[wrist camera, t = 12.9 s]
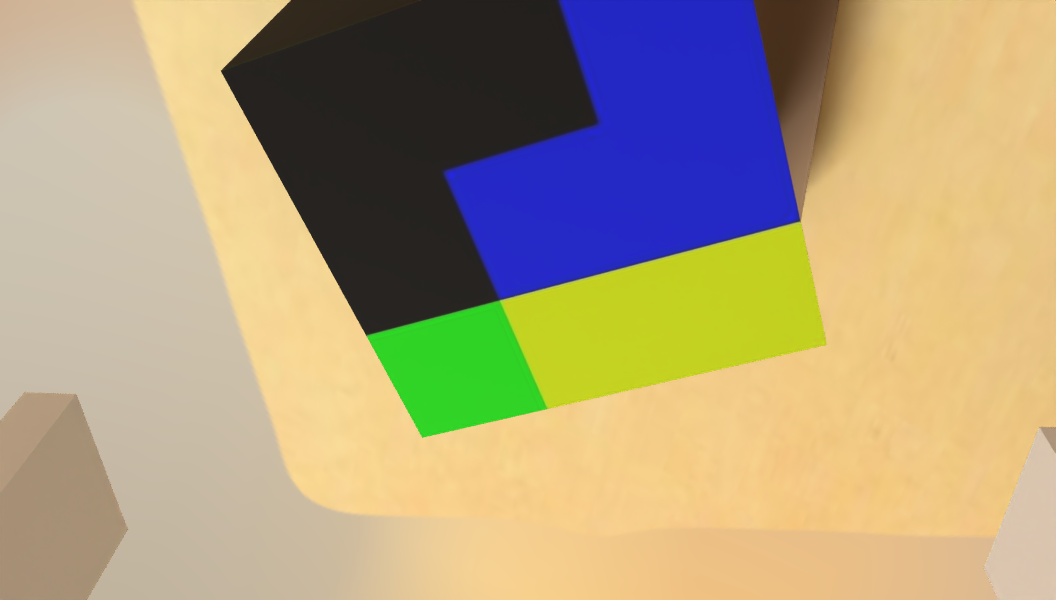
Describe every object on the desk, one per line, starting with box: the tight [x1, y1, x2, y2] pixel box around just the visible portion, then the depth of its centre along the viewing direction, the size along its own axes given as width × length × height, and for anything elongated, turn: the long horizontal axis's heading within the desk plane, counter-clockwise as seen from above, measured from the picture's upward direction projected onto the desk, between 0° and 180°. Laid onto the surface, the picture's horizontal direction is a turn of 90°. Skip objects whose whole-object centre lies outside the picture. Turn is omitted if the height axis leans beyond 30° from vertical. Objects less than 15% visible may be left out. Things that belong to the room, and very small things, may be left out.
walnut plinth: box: [754, 0, 839, 221], centre depth 29 cm, size 16×16×4 cm
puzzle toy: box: [221, 0, 827, 438], centre depth 23 cm, size 10×10×10 cm
